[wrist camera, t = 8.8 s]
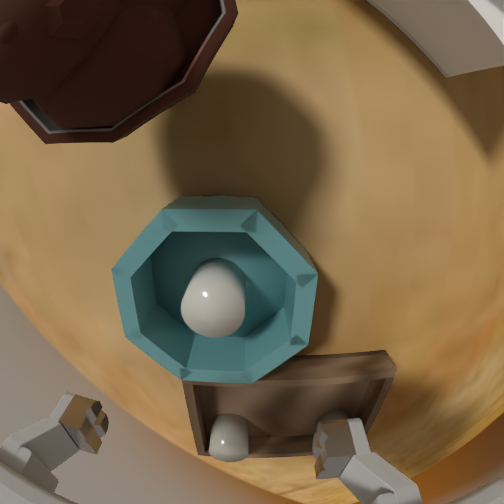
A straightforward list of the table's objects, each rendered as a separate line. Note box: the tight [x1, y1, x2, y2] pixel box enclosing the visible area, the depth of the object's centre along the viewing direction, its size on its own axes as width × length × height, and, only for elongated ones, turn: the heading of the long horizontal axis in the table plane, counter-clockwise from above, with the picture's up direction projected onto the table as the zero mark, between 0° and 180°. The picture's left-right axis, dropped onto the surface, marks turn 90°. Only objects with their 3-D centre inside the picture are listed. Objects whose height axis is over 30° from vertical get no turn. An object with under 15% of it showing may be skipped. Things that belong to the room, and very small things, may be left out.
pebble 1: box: [181, 257, 246, 338], centre depth 19 cm, size 4×4×4 cm
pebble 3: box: [316, 410, 350, 429], centre depth 25 cm, size 4×4×4 cm
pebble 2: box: [209, 413, 248, 462], centre depth 25 cm, size 4×4×4 cm
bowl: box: [112, 195, 318, 384], centre depth 19 cm, size 12×12×5 cm
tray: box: [182, 350, 397, 458], centre depth 25 cm, size 18×13×3 cm
